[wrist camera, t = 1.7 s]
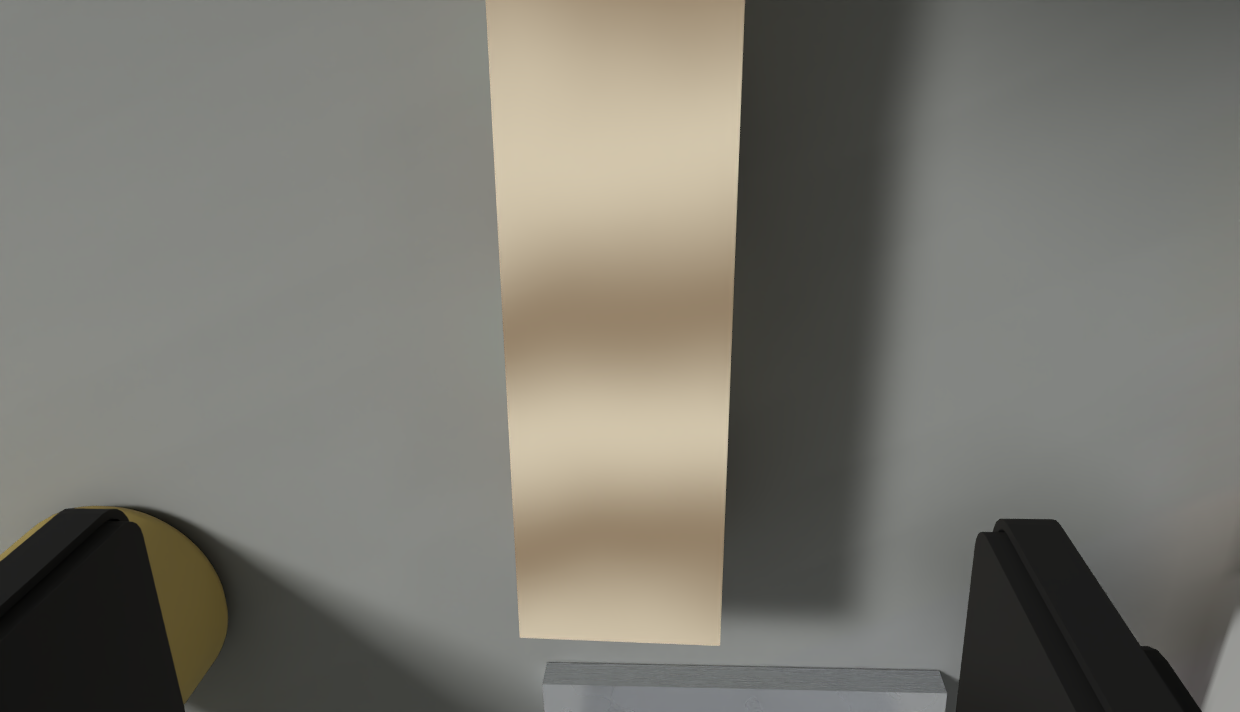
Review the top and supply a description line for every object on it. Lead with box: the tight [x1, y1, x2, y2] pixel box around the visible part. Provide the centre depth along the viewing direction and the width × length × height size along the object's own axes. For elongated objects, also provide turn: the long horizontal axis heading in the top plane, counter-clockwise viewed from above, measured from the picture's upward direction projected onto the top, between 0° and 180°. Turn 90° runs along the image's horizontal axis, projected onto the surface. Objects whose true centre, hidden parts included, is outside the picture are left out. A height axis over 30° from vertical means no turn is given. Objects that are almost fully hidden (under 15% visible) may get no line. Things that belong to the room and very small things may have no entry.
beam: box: [486, 0, 745, 646], centre depth 23 cm, size 18×5×5 cm, turn 1°
